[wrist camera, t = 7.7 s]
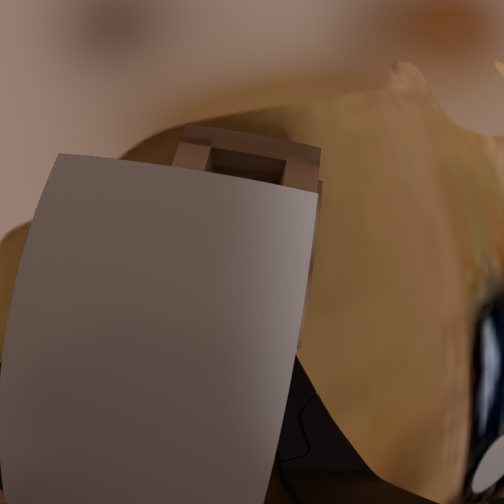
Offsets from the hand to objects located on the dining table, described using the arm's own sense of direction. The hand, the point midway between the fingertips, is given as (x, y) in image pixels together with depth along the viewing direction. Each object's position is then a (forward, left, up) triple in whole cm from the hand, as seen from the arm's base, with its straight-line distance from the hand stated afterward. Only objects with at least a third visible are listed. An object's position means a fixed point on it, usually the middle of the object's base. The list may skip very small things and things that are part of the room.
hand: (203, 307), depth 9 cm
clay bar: (-1, -1, -7) cm, 7 cm away
